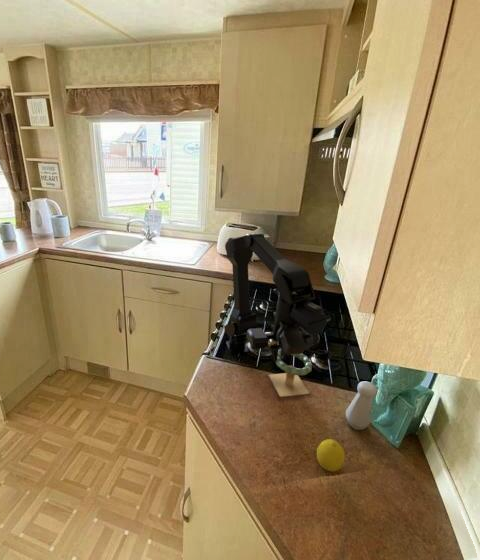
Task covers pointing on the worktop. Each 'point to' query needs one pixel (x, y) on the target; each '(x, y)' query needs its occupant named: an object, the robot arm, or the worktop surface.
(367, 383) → the salt shaker
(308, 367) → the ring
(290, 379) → the stand
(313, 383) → the worktop surface
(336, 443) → the lemon
